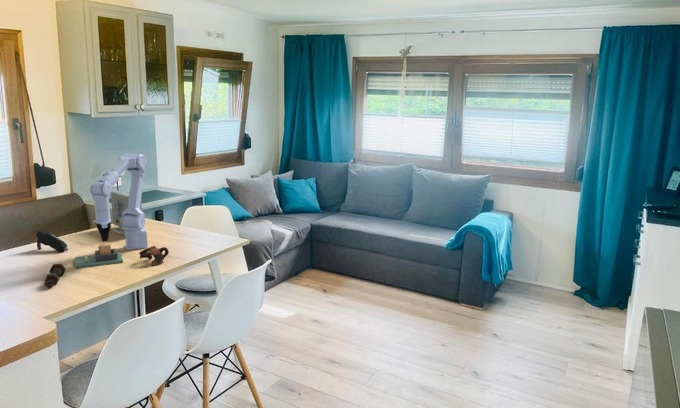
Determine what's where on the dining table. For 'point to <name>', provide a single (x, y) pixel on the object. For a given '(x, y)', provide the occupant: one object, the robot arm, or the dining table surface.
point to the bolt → (54, 275)
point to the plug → (104, 249)
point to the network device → (119, 208)
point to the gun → (50, 241)
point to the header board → (99, 259)
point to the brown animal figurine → (154, 254)
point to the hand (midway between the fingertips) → (105, 240)
